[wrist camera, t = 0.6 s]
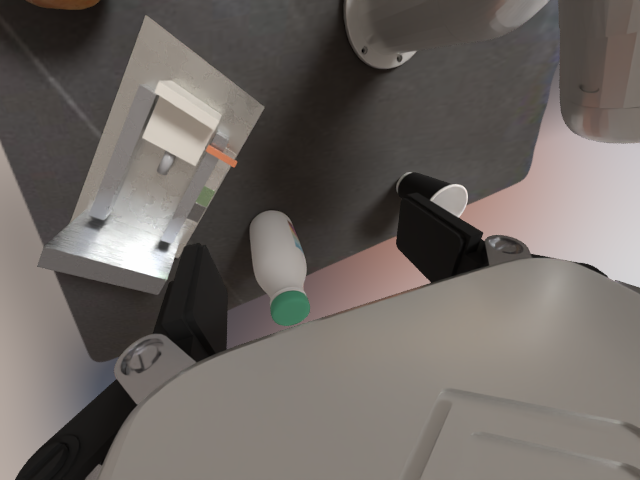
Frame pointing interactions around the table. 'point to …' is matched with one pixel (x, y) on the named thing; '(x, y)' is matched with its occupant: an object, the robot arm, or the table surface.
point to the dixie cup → (434, 191)
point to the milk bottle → (279, 266)
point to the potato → (64, 4)
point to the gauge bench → (149, 172)
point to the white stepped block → (182, 126)
